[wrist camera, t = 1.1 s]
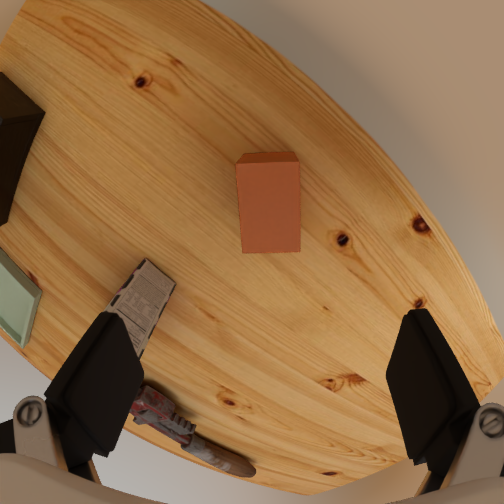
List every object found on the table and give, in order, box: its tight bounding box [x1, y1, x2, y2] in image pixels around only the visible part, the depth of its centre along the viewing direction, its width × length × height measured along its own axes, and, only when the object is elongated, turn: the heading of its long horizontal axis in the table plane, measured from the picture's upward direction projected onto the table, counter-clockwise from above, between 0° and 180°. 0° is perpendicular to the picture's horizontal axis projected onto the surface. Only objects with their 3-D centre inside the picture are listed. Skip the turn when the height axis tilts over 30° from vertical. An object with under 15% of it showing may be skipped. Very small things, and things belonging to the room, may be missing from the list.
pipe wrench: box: [129, 386, 256, 478], centre depth 44 cm, size 40×12×5 cm, turn 43°
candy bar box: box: [103, 258, 176, 360], centre depth 26 cm, size 11×5×16 cm, turn 137°
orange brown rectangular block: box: [235, 152, 301, 253], centre depth 24 cm, size 7×4×6 cm, turn 4°
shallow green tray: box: [0, 248, 42, 349], centre depth 36 cm, size 18×12×2 cm, turn 139°
